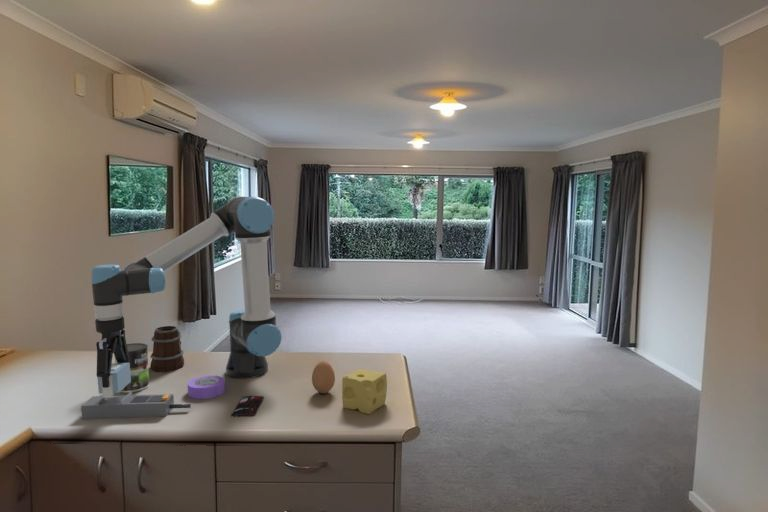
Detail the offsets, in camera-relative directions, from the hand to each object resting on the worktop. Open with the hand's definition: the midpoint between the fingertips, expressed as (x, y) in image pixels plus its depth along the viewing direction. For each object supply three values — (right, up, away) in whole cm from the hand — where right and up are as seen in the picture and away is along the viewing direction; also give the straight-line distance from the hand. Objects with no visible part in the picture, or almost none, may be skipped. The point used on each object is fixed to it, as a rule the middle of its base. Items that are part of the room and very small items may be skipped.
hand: (115, 390), depth 154 cm
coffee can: (-5, -5, +21) cm, 22 cm away
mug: (-2, -2, +44) cm, 44 cm away
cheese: (+74, -7, +7) cm, 75 cm away
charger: (0, +1, 0) cm, 1 cm away
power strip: (+7, -7, +1) cm, 10 cm away
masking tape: (+21, -5, +17) cm, 28 cm away
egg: (+60, -5, +17) cm, 63 cm away
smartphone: (+38, -7, +6) cm, 39 cm away
